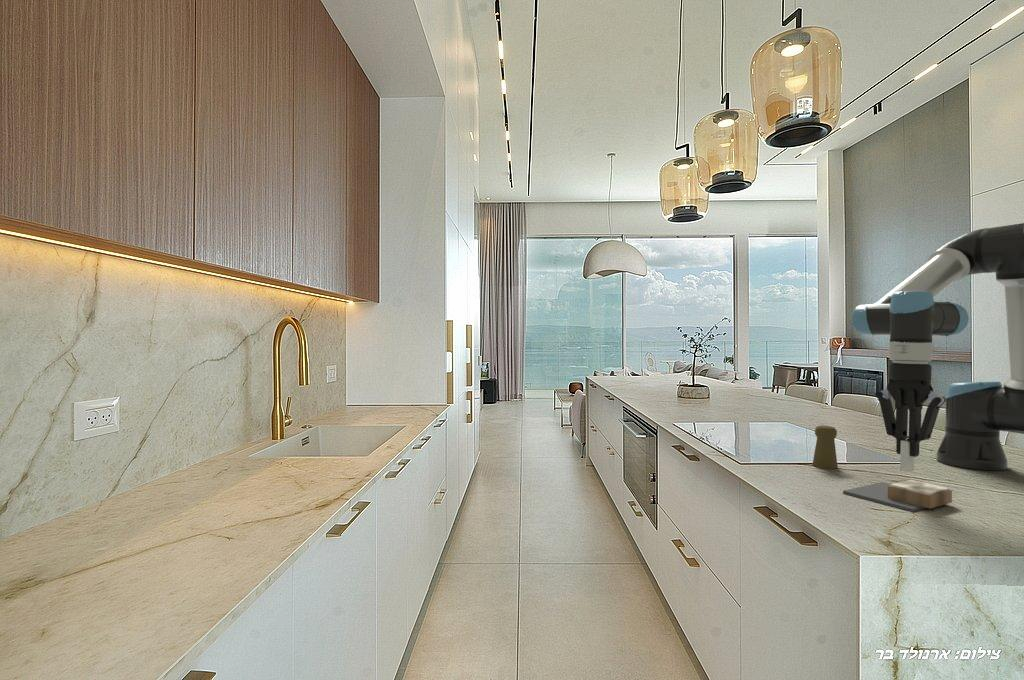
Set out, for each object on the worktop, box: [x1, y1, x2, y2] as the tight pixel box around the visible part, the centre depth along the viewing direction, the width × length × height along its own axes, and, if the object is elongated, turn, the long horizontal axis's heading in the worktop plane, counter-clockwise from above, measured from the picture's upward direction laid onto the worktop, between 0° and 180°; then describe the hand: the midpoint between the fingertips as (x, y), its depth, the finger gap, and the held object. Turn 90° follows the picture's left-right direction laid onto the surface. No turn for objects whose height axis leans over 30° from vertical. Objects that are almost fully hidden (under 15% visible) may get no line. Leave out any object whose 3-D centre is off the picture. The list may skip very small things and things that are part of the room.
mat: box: [842, 481, 926, 512], centre depth 121 cm, size 16×14×1 cm
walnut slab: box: [888, 479, 953, 509], centre depth 117 cm, size 9×3×8 cm
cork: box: [811, 424, 839, 470], centre depth 148 cm, size 6×6×11 cm
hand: (907, 470), depth 119 cm, fingers closed
